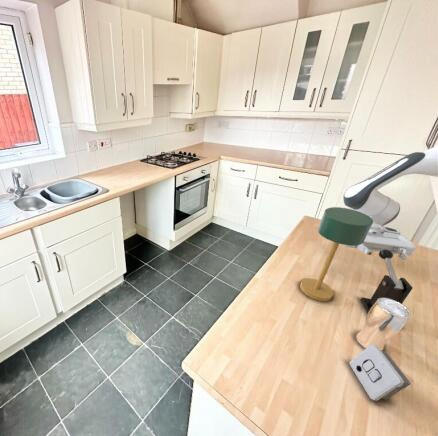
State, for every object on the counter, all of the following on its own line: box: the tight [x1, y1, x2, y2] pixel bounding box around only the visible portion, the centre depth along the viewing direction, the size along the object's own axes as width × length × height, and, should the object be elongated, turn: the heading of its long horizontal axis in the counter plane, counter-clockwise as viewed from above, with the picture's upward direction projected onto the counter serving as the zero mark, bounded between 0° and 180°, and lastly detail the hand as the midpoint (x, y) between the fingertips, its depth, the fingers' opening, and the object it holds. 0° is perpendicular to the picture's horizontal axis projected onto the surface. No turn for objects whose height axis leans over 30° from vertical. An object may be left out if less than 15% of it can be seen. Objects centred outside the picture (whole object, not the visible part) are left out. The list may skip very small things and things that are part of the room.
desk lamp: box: [299, 206, 373, 302], centre depth 82 cm, size 12×12×32 cm
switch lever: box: [378, 249, 404, 292], centre depth 78 cm, size 14×3×3 cm, turn 162°
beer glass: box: [355, 298, 411, 351], centre depth 67 cm, size 7×7×15 cm
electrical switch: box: [349, 345, 412, 402], centre depth 60 cm, size 9×5×9 cm, turn 173°
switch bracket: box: [360, 274, 414, 313], centre depth 77 cm, size 9×7×14 cm
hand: (386, 255), depth 80 cm, fingers open, 8 cm apart
